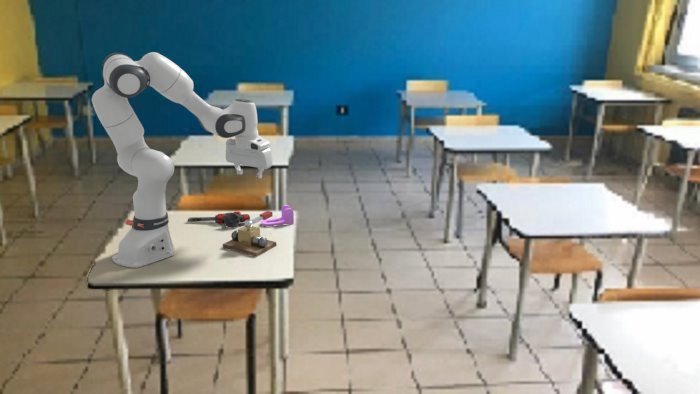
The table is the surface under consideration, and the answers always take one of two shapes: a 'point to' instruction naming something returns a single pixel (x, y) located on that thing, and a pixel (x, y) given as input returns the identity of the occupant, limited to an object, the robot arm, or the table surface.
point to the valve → (225, 218)
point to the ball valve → (249, 237)
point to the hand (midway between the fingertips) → (249, 176)
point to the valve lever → (258, 219)
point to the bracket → (285, 219)
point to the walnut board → (248, 248)
